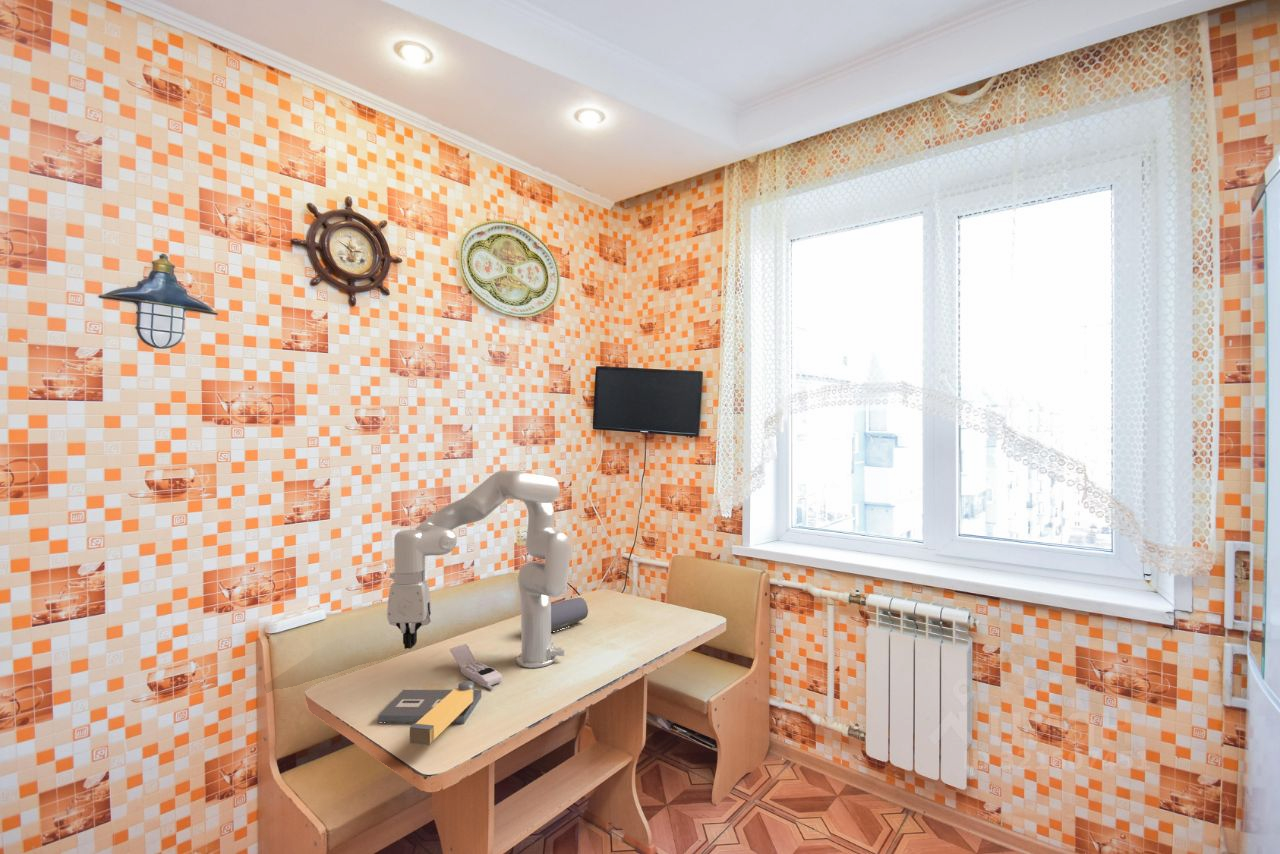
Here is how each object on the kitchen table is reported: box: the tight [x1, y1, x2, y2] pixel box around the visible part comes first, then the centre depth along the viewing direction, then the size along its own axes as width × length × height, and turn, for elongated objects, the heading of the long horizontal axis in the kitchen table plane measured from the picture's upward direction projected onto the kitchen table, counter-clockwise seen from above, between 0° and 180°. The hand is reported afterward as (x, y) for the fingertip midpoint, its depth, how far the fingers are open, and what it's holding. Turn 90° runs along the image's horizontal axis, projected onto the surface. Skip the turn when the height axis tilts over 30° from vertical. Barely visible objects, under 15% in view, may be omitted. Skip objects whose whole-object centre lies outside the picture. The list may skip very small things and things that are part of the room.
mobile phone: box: [449, 643, 503, 691], centre depth 166 cm, size 6×6×25 cm
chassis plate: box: [377, 689, 482, 725], centre depth 145 cm, size 22×14×2 cm, turn 88°
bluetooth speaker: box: [551, 597, 589, 632], centre depth 205 cm, size 23×9×10 cm, turn 136°
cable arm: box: [409, 680, 475, 746], centre depth 135 cm, size 23×5×5 cm, turn 169°
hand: (409, 646), depth 145 cm, fingers closed
